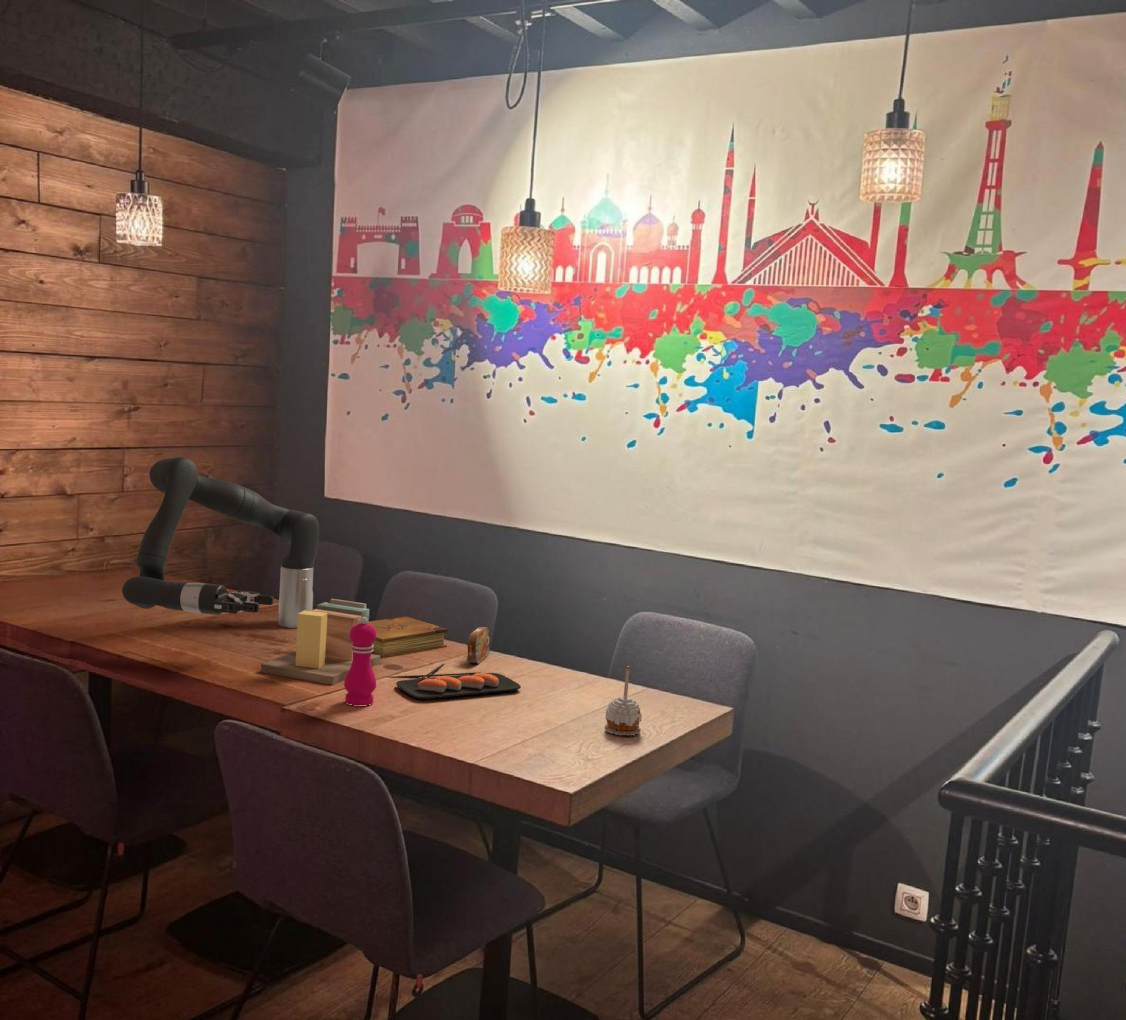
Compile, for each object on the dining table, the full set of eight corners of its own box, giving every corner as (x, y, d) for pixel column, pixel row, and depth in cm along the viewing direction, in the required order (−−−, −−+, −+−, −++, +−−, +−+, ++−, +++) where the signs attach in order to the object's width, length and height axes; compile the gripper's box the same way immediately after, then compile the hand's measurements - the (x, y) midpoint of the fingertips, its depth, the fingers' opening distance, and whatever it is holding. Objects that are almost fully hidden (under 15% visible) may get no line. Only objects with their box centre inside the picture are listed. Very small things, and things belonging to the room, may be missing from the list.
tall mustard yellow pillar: (301, 661, 270) (304, 610, 268) (324, 664, 269) (327, 613, 268) (295, 665, 266) (298, 613, 265) (318, 668, 265) (321, 616, 264)
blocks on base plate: (312, 651, 288) (315, 596, 286) (380, 662, 282) (383, 606, 280) (260, 672, 265) (263, 612, 263) (332, 684, 259) (336, 623, 257)
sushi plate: (415, 705, 250) (416, 689, 249) (367, 671, 275) (368, 657, 274) (525, 694, 265) (526, 679, 265) (469, 663, 290) (470, 649, 290)
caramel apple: (646, 735, 240) (652, 669, 238) (619, 739, 235) (625, 672, 233) (625, 724, 246) (630, 660, 244) (597, 729, 241) (603, 663, 240)
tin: (475, 667, 285) (477, 635, 284) (464, 665, 286) (466, 634, 285) (490, 654, 300) (492, 624, 299) (479, 652, 300) (481, 623, 299)
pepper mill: (347, 696, 251) (351, 612, 248) (378, 699, 250) (383, 614, 248) (339, 705, 243) (344, 618, 241) (371, 708, 243) (376, 621, 241)
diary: (403, 635, 316) (404, 615, 316) (446, 649, 304) (447, 628, 303) (338, 644, 299) (340, 624, 299) (381, 659, 287) (383, 638, 286)
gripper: (190, 589, 263) (254, 595, 261) (217, 578, 277) (277, 584, 275) (190, 619, 264) (253, 625, 262) (216, 607, 278) (276, 612, 276)
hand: (265, 604), depth 268 cm, fingers open, 8 cm apart
